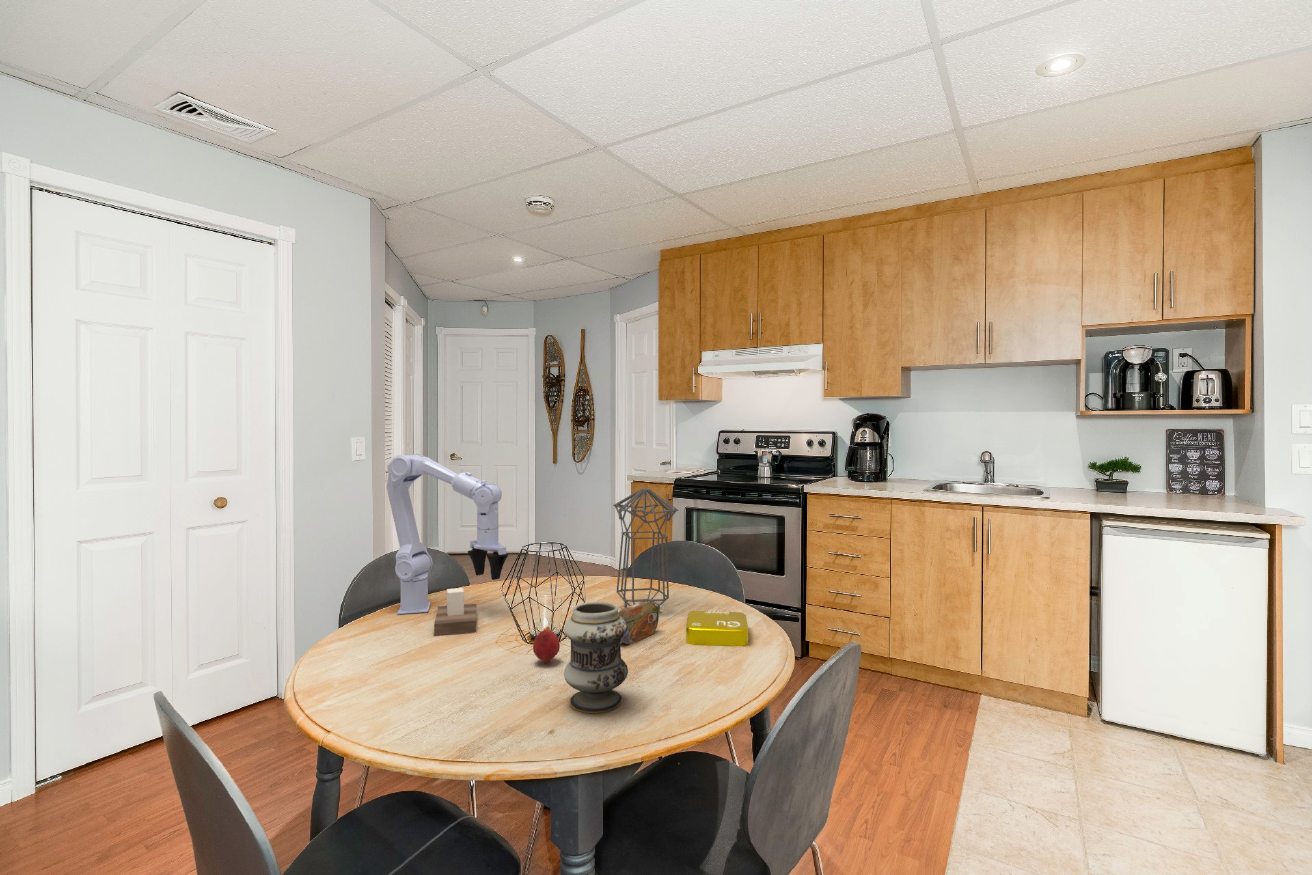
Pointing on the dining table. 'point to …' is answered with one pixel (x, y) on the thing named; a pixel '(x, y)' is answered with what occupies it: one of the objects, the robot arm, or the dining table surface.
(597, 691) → the apothecary jar
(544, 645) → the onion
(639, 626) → the tin
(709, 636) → the element tile
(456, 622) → the plinth
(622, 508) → the geometric lantern
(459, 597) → the block
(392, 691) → the dining table surface
